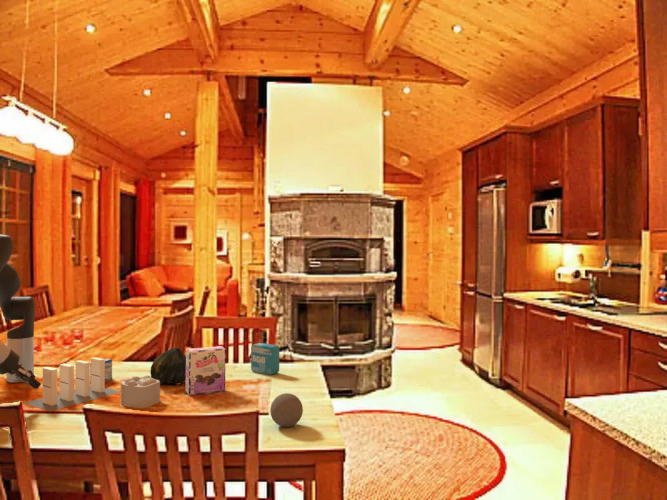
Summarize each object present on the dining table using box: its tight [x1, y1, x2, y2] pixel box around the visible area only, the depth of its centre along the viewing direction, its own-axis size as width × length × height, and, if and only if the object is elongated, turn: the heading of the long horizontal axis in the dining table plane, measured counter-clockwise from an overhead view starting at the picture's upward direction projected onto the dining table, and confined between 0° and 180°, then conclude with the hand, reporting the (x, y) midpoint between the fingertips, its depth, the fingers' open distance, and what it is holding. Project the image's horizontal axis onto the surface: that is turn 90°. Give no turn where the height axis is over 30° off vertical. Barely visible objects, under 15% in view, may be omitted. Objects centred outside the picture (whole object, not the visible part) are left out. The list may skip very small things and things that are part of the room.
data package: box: [250, 342, 280, 376], centre depth 227 cm, size 12×4×12 cm, turn 60°
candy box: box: [184, 345, 227, 396], centre depth 198 cm, size 14×6×16 cm, turn 117°
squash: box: [149, 347, 186, 386], centre depth 209 cm, size 14×15×15 cm
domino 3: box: [75, 360, 91, 397], centre depth 190 cm, size 2×6×12 cm, turn 58°
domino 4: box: [90, 357, 106, 393], centre depth 195 cm, size 2×6×12 cm, turn 58°
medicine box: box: [90, 358, 113, 384], centre depth 209 cm, size 8×4×9 cm, turn 168°
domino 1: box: [42, 366, 58, 406], centre depth 180 cm, size 2×6×12 cm, turn 58°
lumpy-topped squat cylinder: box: [120, 374, 161, 409], centre depth 184 cm, size 10×13×9 cm
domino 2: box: [59, 363, 75, 401], centre depth 185 cm, size 2×6×12 cm, turn 58°
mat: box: [24, 385, 121, 412], centre depth 188 cm, size 16×27×1 cm, turn 148°
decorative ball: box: [269, 392, 304, 428], centre depth 163 cm, size 10×10×10 cm
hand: (37, 386), depth 176 cm, fingers closed
